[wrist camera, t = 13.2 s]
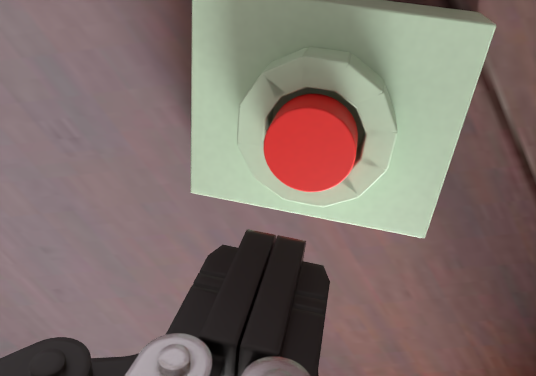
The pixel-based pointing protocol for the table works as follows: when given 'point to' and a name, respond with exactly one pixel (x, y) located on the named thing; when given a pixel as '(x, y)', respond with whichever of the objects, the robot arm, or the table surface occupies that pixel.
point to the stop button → (311, 143)
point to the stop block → (342, 89)
